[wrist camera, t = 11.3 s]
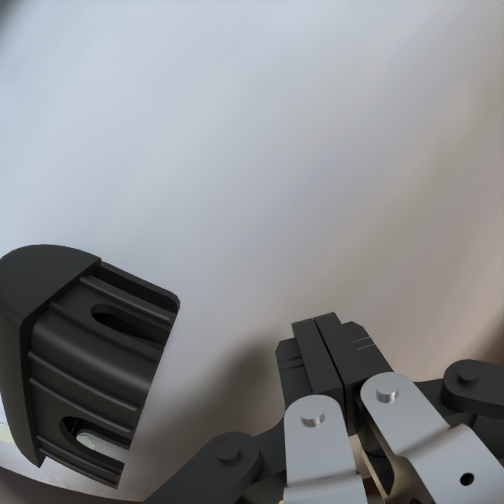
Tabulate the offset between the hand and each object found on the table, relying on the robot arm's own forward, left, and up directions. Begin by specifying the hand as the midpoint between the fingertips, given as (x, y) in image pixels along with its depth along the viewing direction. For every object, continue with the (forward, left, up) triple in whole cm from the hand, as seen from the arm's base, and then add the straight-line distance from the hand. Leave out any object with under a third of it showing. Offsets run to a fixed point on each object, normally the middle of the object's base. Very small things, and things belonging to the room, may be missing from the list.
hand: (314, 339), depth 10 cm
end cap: (0, -10, -4) cm, 11 cm away
